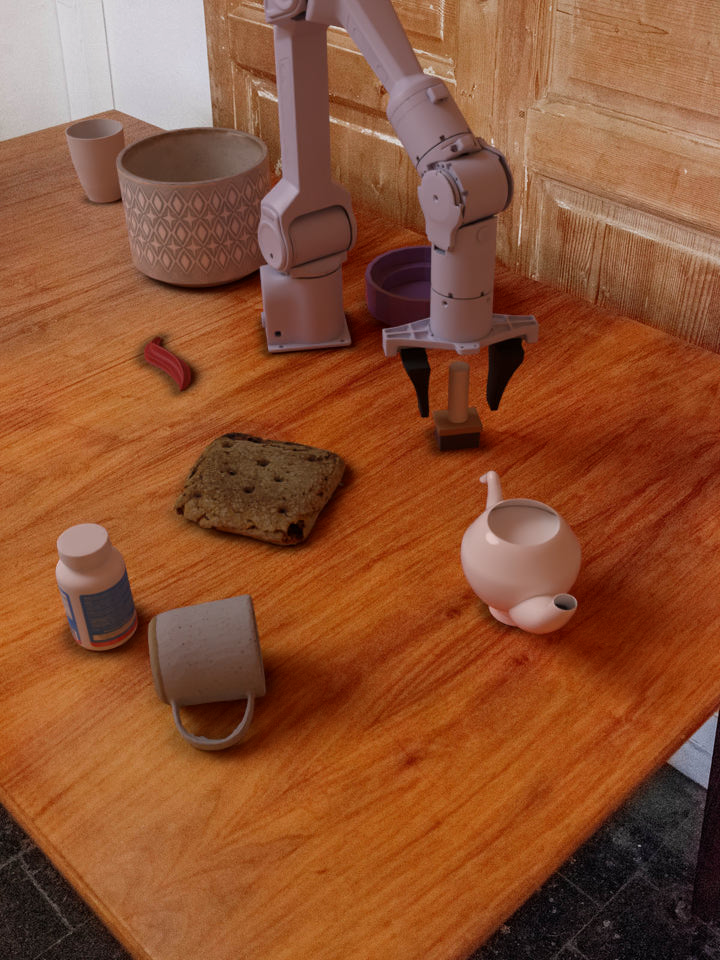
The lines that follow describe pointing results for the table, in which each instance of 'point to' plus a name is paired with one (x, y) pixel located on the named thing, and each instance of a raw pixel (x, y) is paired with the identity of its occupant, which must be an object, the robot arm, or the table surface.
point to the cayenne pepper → (168, 363)
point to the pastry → (260, 487)
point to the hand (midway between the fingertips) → (457, 408)
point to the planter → (195, 204)
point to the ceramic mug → (207, 660)
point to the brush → (458, 413)
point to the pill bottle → (95, 588)
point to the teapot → (522, 561)
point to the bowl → (400, 285)
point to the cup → (97, 156)
